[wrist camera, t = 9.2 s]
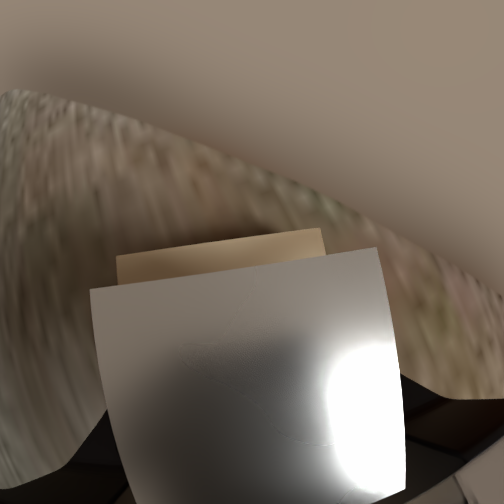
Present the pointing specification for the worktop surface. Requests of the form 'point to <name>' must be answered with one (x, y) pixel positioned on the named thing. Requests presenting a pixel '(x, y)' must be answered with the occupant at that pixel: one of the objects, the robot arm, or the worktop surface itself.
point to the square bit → (255, 384)
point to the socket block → (219, 256)
